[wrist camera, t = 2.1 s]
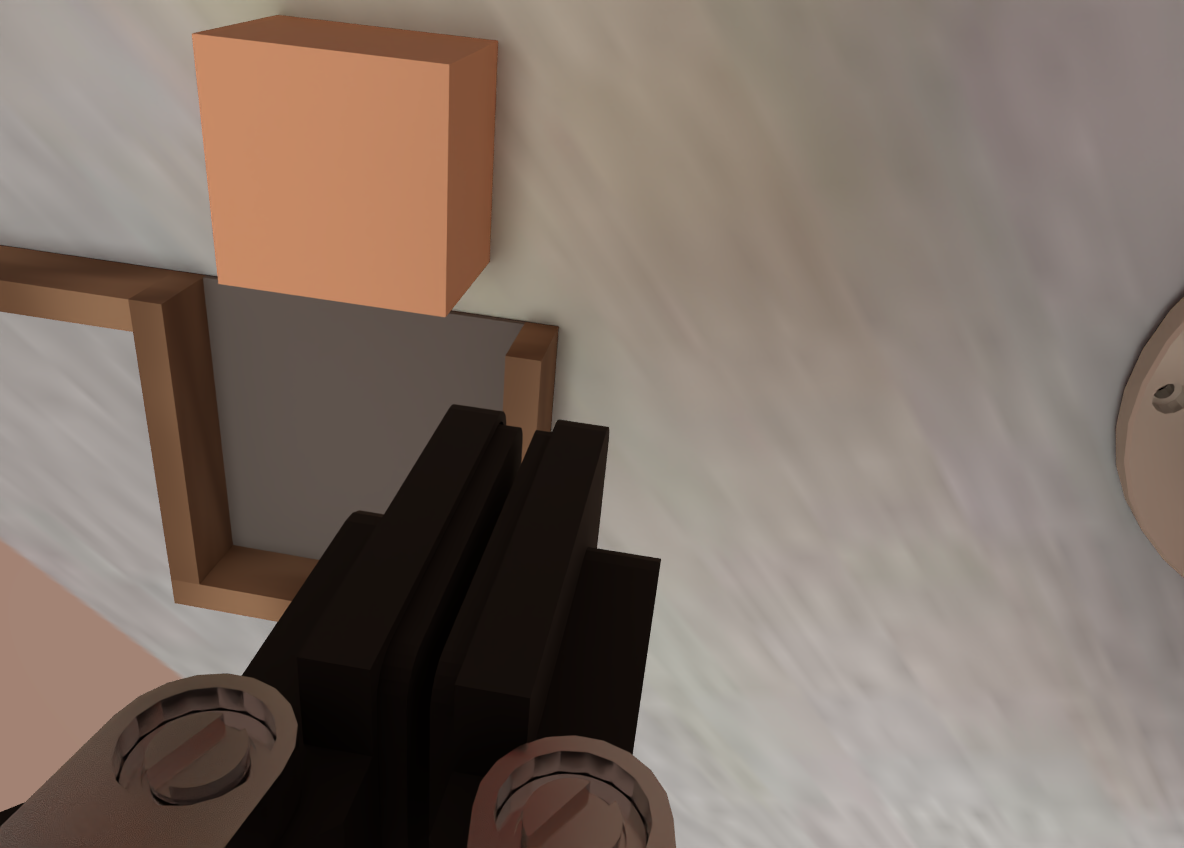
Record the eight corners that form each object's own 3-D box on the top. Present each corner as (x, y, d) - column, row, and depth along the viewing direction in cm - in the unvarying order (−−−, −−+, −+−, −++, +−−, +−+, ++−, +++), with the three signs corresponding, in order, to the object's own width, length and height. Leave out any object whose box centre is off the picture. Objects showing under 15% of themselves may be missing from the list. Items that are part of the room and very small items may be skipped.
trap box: (636, -694, 18) (618, -775, 16) (536, 617, 34) (520, 665, 31) (-530, -738, 21) (-682, -814, 19) (-128, 499, 36) (-186, 537, 34)
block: (499, 40, 25) (449, 64, 21) (491, 260, 28) (445, 317, 24) (280, 14, 26) (191, 33, 22) (294, 232, 29) (218, 283, 25)
